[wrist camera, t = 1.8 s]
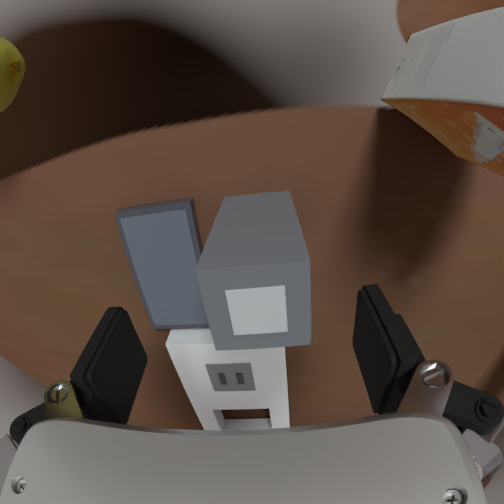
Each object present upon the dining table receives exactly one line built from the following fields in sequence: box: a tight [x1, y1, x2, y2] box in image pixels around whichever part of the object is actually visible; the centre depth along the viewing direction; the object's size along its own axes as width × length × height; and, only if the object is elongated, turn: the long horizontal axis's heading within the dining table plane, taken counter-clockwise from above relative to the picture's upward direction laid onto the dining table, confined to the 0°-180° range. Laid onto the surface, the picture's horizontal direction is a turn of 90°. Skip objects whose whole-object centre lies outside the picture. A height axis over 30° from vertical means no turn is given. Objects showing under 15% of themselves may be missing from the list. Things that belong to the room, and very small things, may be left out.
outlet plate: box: [166, 328, 290, 430], centre depth 29 cm, size 10×18×3 cm, turn 7°
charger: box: [195, 191, 311, 351], centre depth 17 cm, size 4×4×10 cm
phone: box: [114, 198, 210, 329], centre depth 23 cm, size 6×11×1 cm, turn 7°
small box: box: [381, 7, 504, 176], centre depth 11 cm, size 8×6×13 cm
